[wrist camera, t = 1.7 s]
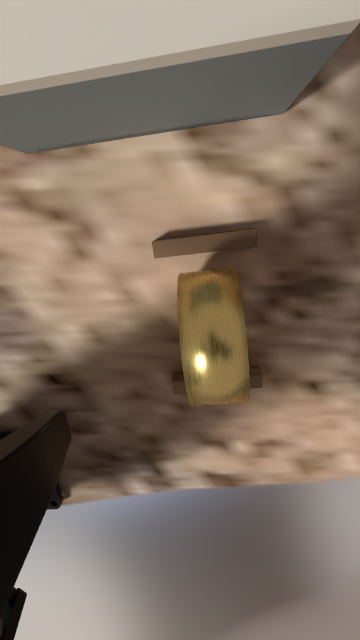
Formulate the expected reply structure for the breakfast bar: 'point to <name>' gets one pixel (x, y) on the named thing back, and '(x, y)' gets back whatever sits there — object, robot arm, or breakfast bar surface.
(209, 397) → the coin
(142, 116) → the box
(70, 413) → the breakfast bar surface
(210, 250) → the coin stand
